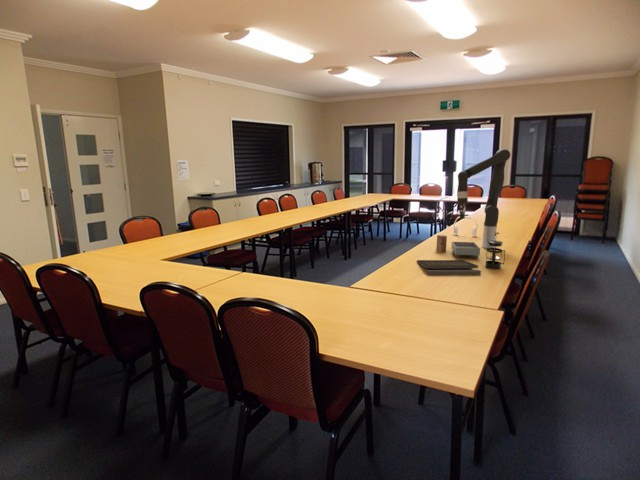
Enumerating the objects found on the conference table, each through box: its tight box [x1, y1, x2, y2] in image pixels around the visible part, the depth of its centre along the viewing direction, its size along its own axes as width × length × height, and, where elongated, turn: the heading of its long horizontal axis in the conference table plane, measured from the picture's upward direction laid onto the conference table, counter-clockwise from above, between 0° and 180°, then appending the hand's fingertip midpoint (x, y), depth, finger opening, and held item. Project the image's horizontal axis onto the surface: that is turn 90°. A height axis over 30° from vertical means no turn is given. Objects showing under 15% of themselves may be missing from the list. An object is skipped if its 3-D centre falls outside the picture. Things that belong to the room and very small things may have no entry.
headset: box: [453, 215, 478, 237], centre depth 362 cm, size 20×7×18 cm, turn 65°
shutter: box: [416, 259, 481, 277], centre depth 263 cm, size 32×7×31 cm
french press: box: [484, 231, 506, 270], centre depth 261 cm, size 12×9×23 cm
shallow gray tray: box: [451, 241, 481, 260], centre depth 293 cm, size 16×20×8 cm
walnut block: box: [435, 234, 448, 253], centre depth 306 cm, size 5×5×12 cm
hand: (462, 218), depth 315 cm, fingers open, 8 cm apart
